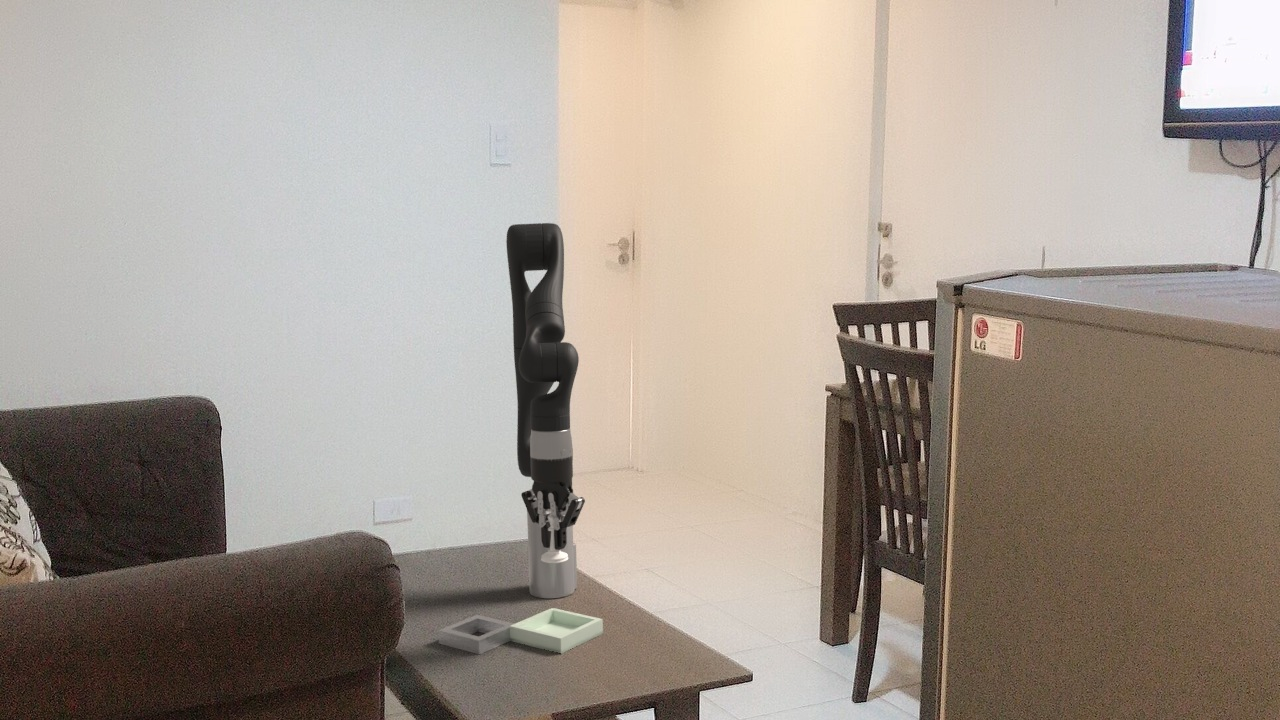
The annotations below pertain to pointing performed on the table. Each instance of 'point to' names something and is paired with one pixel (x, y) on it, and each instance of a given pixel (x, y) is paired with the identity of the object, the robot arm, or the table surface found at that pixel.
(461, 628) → the collar block
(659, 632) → the table surface
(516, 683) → the table surface
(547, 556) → the chess piece
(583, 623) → the tray
